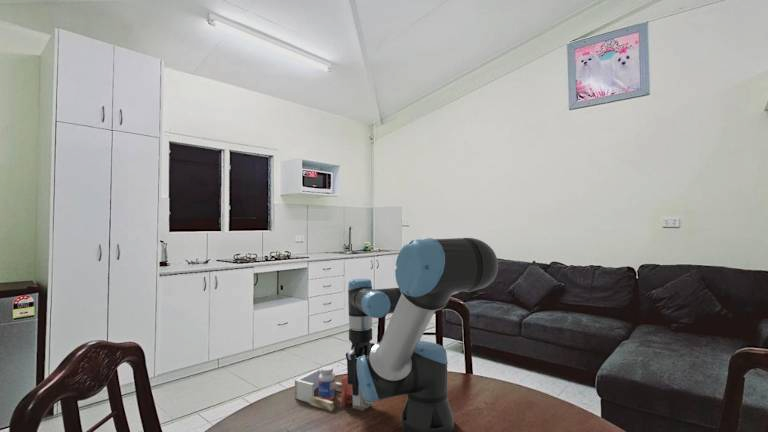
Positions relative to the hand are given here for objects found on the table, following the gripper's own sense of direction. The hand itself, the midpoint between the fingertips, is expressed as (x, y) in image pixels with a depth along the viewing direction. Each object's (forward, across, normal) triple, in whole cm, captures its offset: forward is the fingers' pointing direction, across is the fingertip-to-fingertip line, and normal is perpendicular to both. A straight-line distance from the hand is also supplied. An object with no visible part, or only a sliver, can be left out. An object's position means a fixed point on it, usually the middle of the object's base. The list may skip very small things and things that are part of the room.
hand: (361, 401), depth 123 cm
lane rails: (+2, 0, -11) cm, 11 cm away
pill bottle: (+2, 0, -14) cm, 14 cm away
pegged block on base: (+2, 0, 0) cm, 2 cm away
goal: (+1, 0, -19) cm, 19 cm away
